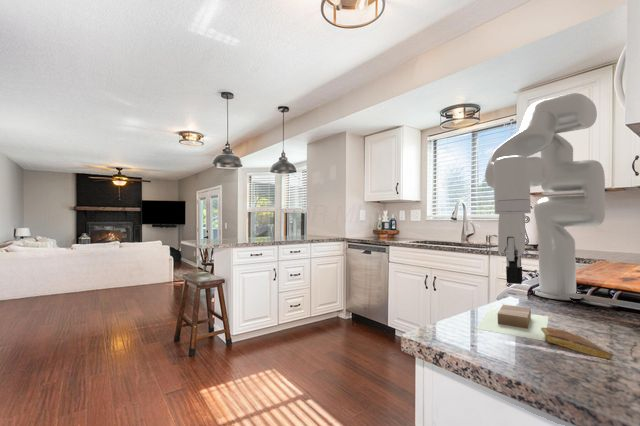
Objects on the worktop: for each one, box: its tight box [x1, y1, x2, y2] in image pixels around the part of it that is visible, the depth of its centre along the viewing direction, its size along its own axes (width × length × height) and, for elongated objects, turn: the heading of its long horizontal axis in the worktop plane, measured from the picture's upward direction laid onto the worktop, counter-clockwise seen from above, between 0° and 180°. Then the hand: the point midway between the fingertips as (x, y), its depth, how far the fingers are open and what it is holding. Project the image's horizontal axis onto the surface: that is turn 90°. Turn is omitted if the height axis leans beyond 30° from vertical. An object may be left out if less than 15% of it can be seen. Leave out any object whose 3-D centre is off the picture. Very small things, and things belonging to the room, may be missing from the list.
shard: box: [541, 327, 614, 361], centre depth 63 cm, size 11×8×2 cm
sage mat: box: [476, 308, 549, 342], centre depth 78 cm, size 19×13×1 cm
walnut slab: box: [498, 303, 532, 329], centre depth 79 cm, size 2×6×9 cm
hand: (514, 282), depth 79 cm, fingers closed
